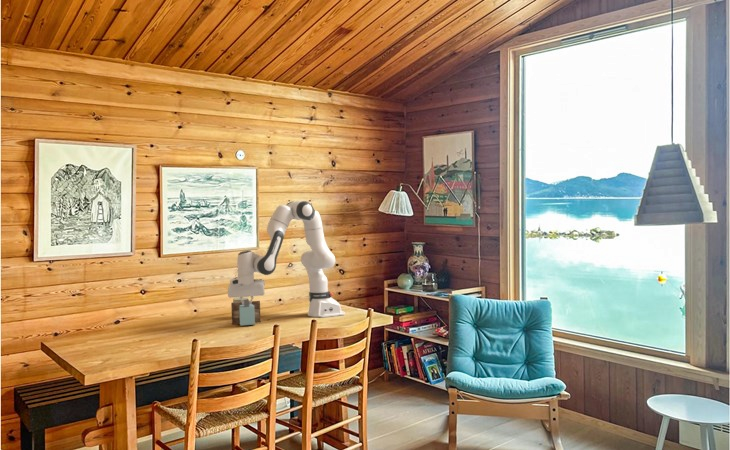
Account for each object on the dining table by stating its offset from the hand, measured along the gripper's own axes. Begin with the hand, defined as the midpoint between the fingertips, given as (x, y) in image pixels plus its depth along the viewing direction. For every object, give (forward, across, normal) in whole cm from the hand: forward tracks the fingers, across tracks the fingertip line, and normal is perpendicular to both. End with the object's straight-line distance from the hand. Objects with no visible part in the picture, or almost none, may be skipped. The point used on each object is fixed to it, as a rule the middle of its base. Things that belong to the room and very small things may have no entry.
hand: (246, 304), depth 327 cm
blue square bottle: (+11, 0, -2) cm, 11 cm away
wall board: (+12, 0, -6) cm, 14 cm away
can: (+12, +2, -26) cm, 29 cm away
